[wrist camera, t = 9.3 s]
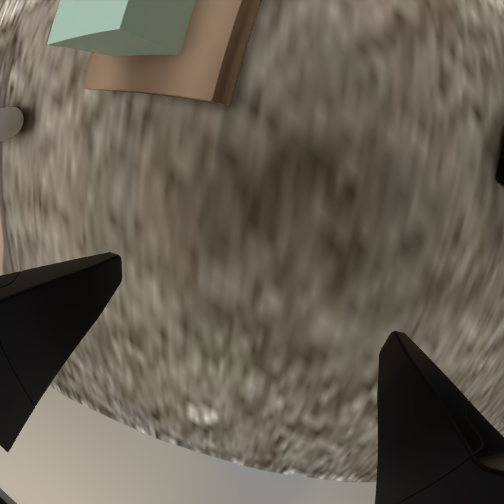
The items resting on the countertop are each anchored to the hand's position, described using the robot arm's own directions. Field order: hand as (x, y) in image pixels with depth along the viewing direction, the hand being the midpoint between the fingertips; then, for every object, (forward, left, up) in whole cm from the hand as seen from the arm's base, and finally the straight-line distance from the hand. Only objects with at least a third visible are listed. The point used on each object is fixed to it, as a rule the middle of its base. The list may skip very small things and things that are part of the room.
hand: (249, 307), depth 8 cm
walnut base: (+10, -11, -12) cm, 19 cm away
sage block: (+10, -11, -8) cm, 17 cm away
